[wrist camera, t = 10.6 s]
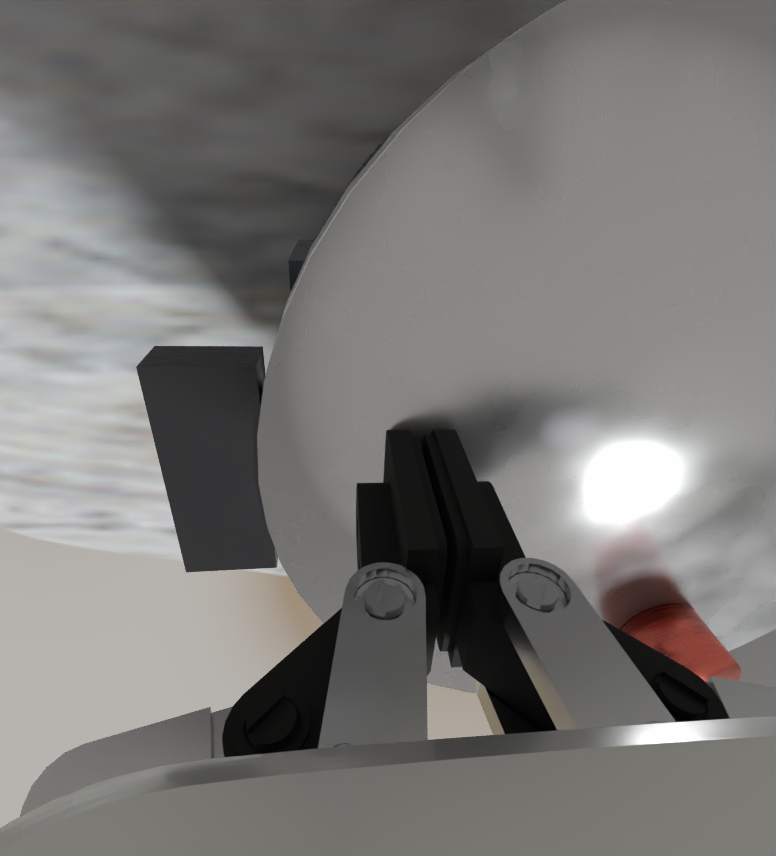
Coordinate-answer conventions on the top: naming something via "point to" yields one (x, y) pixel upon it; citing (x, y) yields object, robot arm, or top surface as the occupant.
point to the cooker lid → (531, 332)
